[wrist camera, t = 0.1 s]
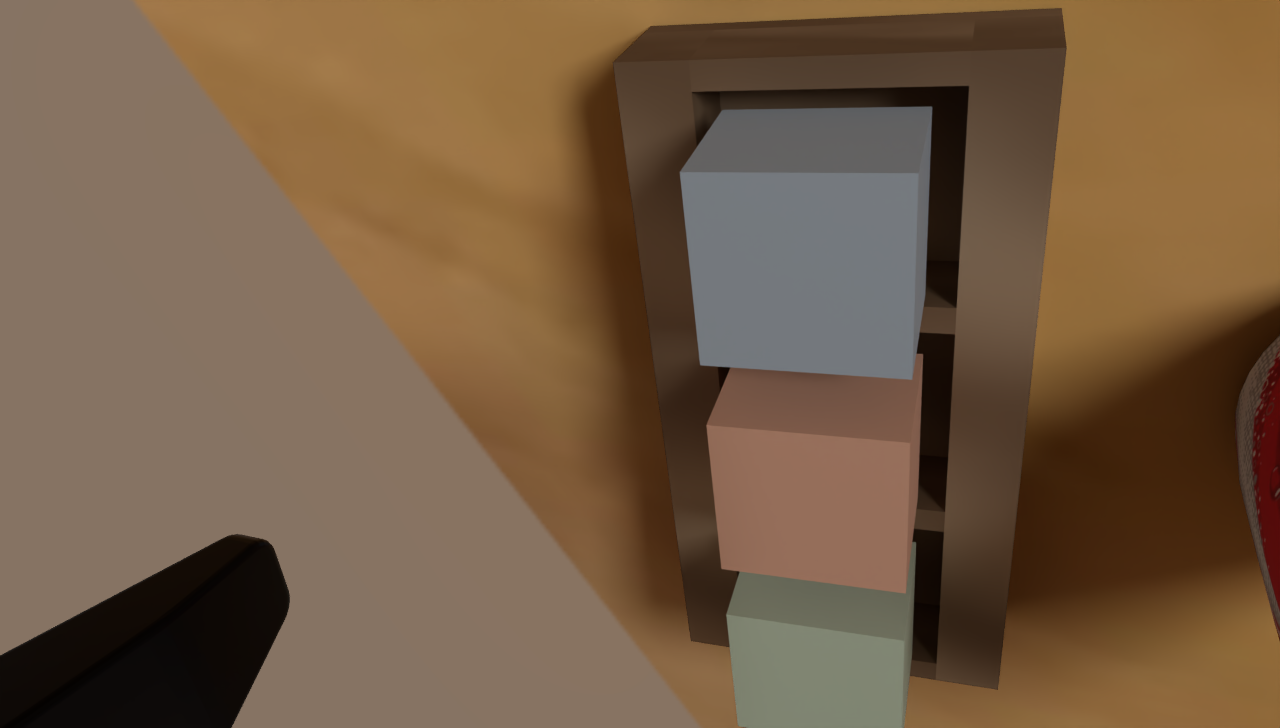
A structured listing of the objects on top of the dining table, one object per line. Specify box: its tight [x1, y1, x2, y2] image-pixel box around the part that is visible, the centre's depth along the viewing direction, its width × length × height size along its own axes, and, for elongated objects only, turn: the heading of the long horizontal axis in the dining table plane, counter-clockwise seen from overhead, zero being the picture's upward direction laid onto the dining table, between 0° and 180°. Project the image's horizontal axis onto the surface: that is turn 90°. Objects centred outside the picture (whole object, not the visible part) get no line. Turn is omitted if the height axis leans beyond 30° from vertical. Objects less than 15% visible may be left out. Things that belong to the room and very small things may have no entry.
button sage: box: [726, 542, 916, 728], centre depth 24 cm, size 4×4×3 cm
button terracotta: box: [706, 354, 923, 594], centre depth 21 cm, size 4×4×3 cm
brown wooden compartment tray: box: [613, 8, 1066, 690], centre depth 23 cm, size 16×8×2 cm, turn 7°
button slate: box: [680, 107, 932, 380], centre depth 18 cm, size 4×4×3 cm
